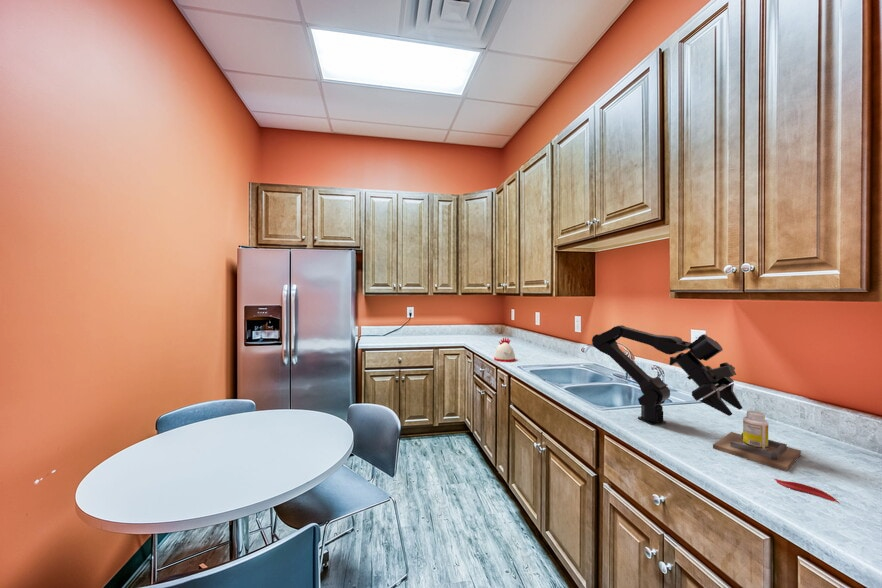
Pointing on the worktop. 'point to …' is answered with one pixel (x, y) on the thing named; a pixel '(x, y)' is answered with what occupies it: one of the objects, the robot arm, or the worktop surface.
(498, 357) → the cream dome hat
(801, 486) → the cayenne pepper
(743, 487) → the worktop surface
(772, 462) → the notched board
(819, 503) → the worktop surface
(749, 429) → the supplement bottle
